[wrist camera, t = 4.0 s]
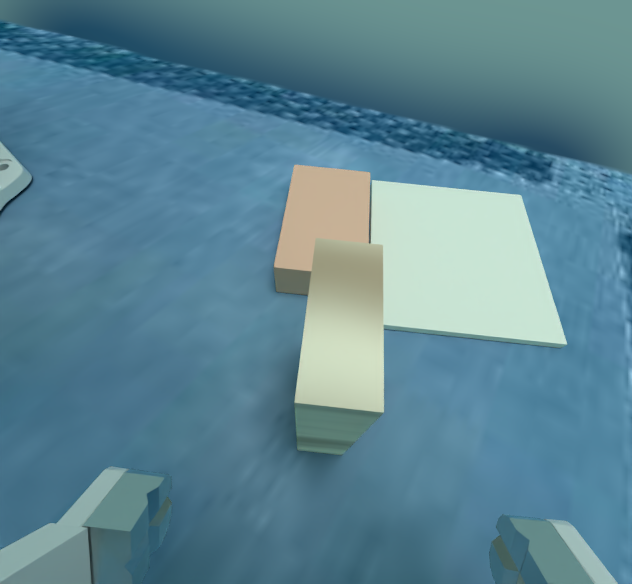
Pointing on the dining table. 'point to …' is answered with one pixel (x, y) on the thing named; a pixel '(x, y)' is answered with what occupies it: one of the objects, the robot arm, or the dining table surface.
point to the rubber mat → (461, 265)
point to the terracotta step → (319, 220)
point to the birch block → (341, 347)
